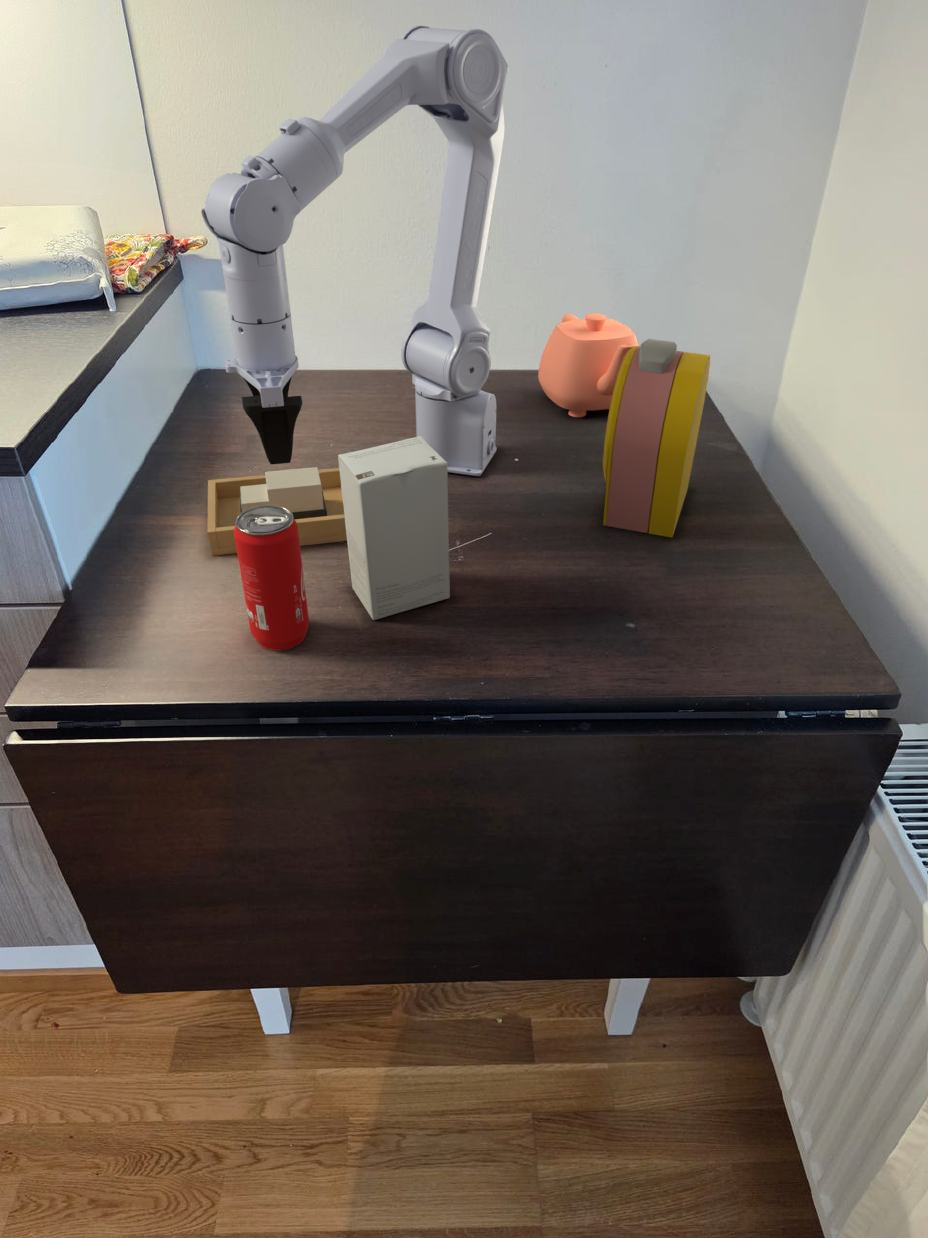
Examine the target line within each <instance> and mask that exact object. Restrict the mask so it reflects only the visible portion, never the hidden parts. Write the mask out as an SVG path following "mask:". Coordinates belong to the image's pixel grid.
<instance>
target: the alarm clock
mask: <svg viewBox="0 0 928 1238" xmlns="http://www.w3.org/2000/svg"><path fill="white" fill-rule="evenodd" d="M677 349H678V344H677V343H676V341H670V340H669V341H668V340H663V339H662V340H660V339H652V338H648V339H646V340H644V341H643V342H641V343H640V346H639V345H638V346H634V347H633V348H631V349H630V350H629V352H628V353H627V354H626V356H625V358H624V360H623V362H622V365H621V367H620V370H619V373H618V376H617V380H616V384H615V387H614V391H613V396H612V400H611V405H610V410H608V416H607V422H606V429H605V435H604V443H603V457H602V468H603V469H602V470H603V477H604V481H605V485H606V486H605V496H604V509H603V510H604V511H603V519H602V520H603V521H602V525H603V526H606V527H611V528H615V529H616V528H617V529H623V530H627V531H632V532H639V533H645V534H650V535H656V536H661V537H666V538H673V537H674V534H675V530H676V528H677V524H678V521H679V518H680V515H681V512H682V509H683V506H684V501H685V499H686V496H687V493H688V489H689V483H690V479H691V474H692V467H693V464H694V457H695V452H696V447H697V442H698V436H699V431H700V427H701V420H702V416H703V410H704V405H705V400H706V394H707V387H708V382H709V374H710V366H711V354H705V353H698V352H689V351H688V352H687V351H682V350H677Z"/></svg>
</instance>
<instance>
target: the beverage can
mask: <svg viewBox="0 0 928 1238" xmlns="http://www.w3.org/2000/svg"><path fill="white" fill-rule="evenodd" d="M235 525H236V526H235V528H234V537H235V543H236V549H237V553H236V554H237V560H238V567H239V572H240V578H241V584H242V590H243V596H244V602H245V607H246V613H247V619H248V624H249V630H250V633H251V636H252V637H253V638H254V639H255V640H256V642H257V644H258V645H259V647H261V648H263V649H264V650H268V651H274V652H283V651H287V650H291V649H293V648H295V647H298V646H299V645H300V644H302V643H303V642H304V641H305V638H306V636H307V632H308V630H309V626H310V618H309V608H308V601H307V593H306V583H305V576H304V567H303V559H302V551H301V546H300V542H299V533H298V525H297V522H296V521H295V520H294V517H293V514H292V513H291V512H290V511H289V510H287V509H286V508H283V507H279V506H259V507H254V508H251V509H248V510H246V511H244V512H242V513H241V514H240V515H239V516H238V517H237V518H236V521H235Z"/></svg>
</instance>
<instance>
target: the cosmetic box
mask: <svg viewBox="0 0 928 1238" xmlns="http://www.w3.org/2000/svg"><path fill="white" fill-rule="evenodd" d="M337 460H338V468H339V471H340V479H341V491H342V499H343V506H344V516H345V525H346V534H347V541H346V543H347V551H348V560H349V569H350V578H351V587H352V590H353V591H354V593H355V594H356V596H357V597H358V599H359V601H360V603H361V604H362V606H363V607H364V608H365V610H366V612H367V613H368V615H369V616H370V618H371V619H372V621H377V620H380V619H383V618H387V617H389V616H390V617H391V616H394V615H397V614H399V613H400V614H401V613H404V612H406V611H410V610H413V609H417V608H421V607H424V606H427V605H431V604H434V603H437V602H441V601H444V600H447V599H450V597H451V590H450V589H451V587H450V586H451V585H450V584H451V582H450V545H449V543H450V540H449V539H450V537H449V491H448V490H449V489H448V488H449V487H448V472H447V468H448V463H447V462H446V461H445V460H444V459H443V458H442V457H441V456H440V455H439V454H438V453H437V452H436V451H435V450H433V449H432V448H431V446H430V445H429V444H428V443H427V442H426V441H425V440H424V439H423V438H422V437H421V436H418V437H416V436H415V437H410V438H406V439H402V440H399V441H398V440H397V441H395V442H389V443H385V444H381V445H377V446H373V447H368V448H364V449H360V450H359V449H358V450H355V451H350V452H345V453H340V454H338V455H337Z"/></svg>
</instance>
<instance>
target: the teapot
mask: <svg viewBox="0 0 928 1238" xmlns="http://www.w3.org/2000/svg"><path fill="white" fill-rule="evenodd" d="M634 346H639V343H638V339H637V337H636V334H635V332H634V331H633V330H632V329H631V328H630V327H628V326H626V325H625V324H624V323H622V322H621V321H618V320H617V319H614V318H613V319H612V318H608V316H607V315H605V314H603V313H597V312H593V313H588V314H585V315H584V318H579V317H577V316H576V315H574V314H573V313H566V314H564V315H562V318H561V322H560V323H557V324H556V325H555V326H554V328H553V329H552V331H551V333H550V335H549V338H548V340H547V341H546V344H545V346H544V348H543V351H542V354H541V357H540V361H539V366H538V373H537V374H538V375H537V378H538V382H539V385H540V386H541V388H542V391H543V392H544V394H545V395H546V396H547V398H548V399H549V400H551V401H552V403H554V404H555V405H557V406H558V407H560V408H562V409H565V410H568V413H567V414H568V415H569V416H571V417H574V418H582V417H585V416H586V415H587V411H603V410H608V411H609V410H610V405H611V400H612V396H613V391H614V387H615V384H616V380H617V376H618V373H619V370H620V367H621V365H622V362H623V360H624V358H625V356H626V354H627V353H628V352H629V350H630V349H631V348H633V347H634Z"/></svg>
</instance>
